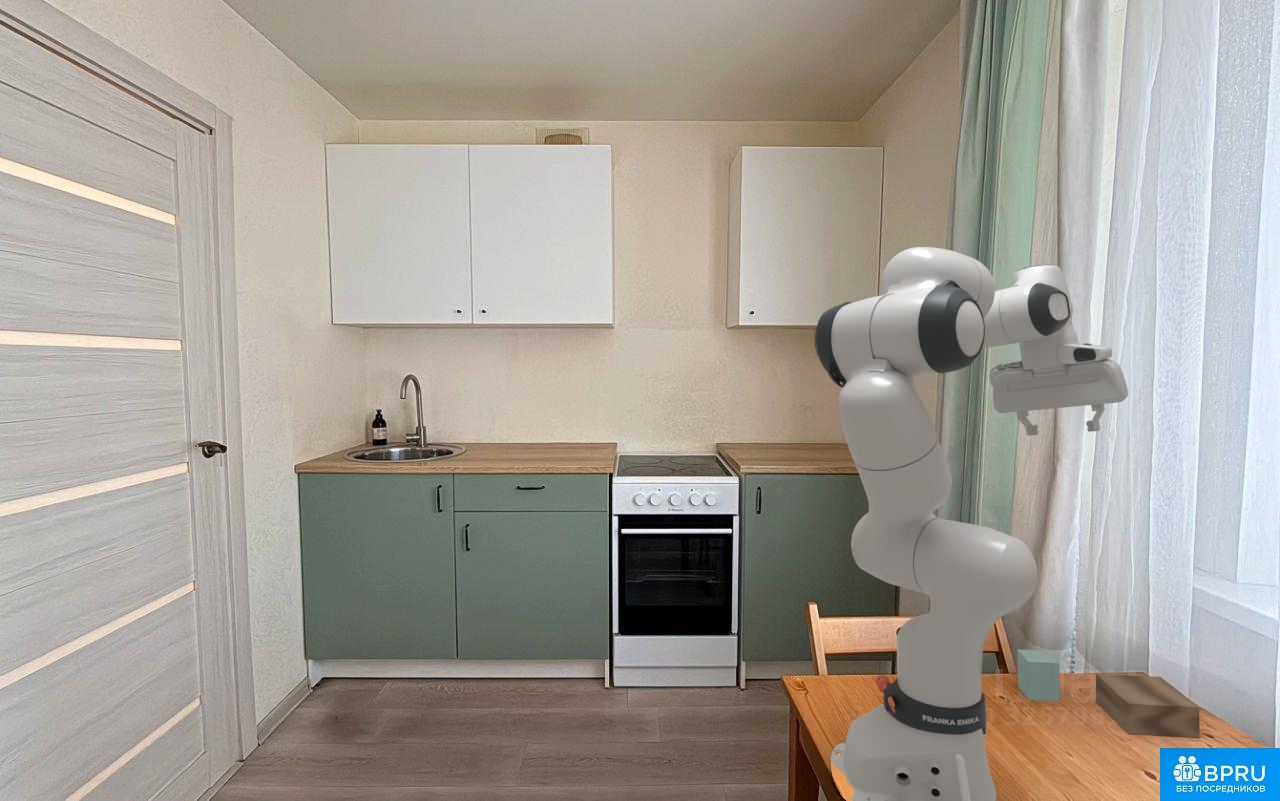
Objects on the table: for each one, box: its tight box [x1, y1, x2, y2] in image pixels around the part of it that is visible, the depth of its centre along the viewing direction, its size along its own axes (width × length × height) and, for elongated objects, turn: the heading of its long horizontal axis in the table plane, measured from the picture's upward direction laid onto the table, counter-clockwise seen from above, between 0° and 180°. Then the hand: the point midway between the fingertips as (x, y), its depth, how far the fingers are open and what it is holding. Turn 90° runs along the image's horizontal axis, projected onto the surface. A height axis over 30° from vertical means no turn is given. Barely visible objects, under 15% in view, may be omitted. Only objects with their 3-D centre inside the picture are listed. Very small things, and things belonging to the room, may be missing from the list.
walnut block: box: [1095, 673, 1200, 738], centre depth 106 cm, size 10×10×5 cm
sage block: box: [1016, 649, 1061, 703], centre depth 116 cm, size 5×5×7 cm
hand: (1062, 433), depth 114 cm, fingers open, 8 cm apart
